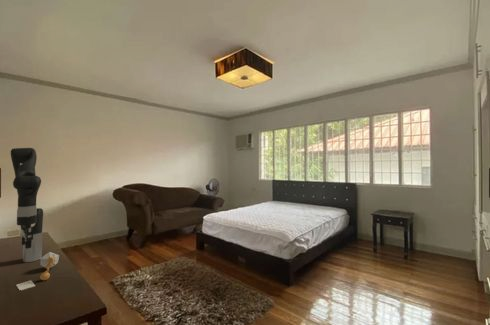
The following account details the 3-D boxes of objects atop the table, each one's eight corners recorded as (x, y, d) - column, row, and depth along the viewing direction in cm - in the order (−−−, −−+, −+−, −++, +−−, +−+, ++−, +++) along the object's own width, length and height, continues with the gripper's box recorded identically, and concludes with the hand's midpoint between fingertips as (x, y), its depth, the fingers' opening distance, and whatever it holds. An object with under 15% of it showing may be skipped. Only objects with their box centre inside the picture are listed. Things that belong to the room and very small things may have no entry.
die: (48, 272, 136) (48, 254, 136) (35, 271, 137) (36, 253, 138) (62, 266, 144) (62, 249, 144) (50, 265, 146) (50, 248, 146)
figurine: (37, 279, 127) (38, 256, 128) (51, 275, 132) (52, 253, 133) (42, 283, 123) (43, 260, 123) (56, 279, 127) (57, 256, 128)
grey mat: (16, 285, 121) (16, 284, 121) (31, 280, 126) (31, 280, 126) (19, 290, 115) (19, 290, 115) (35, 286, 120) (35, 285, 120)
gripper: (14, 214, 123) (13, 245, 122) (19, 217, 114) (19, 251, 114) (33, 211, 129) (32, 241, 128) (40, 215, 120) (39, 247, 120)
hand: (26, 246), depth 121 cm, fingers open, 8 cm apart
